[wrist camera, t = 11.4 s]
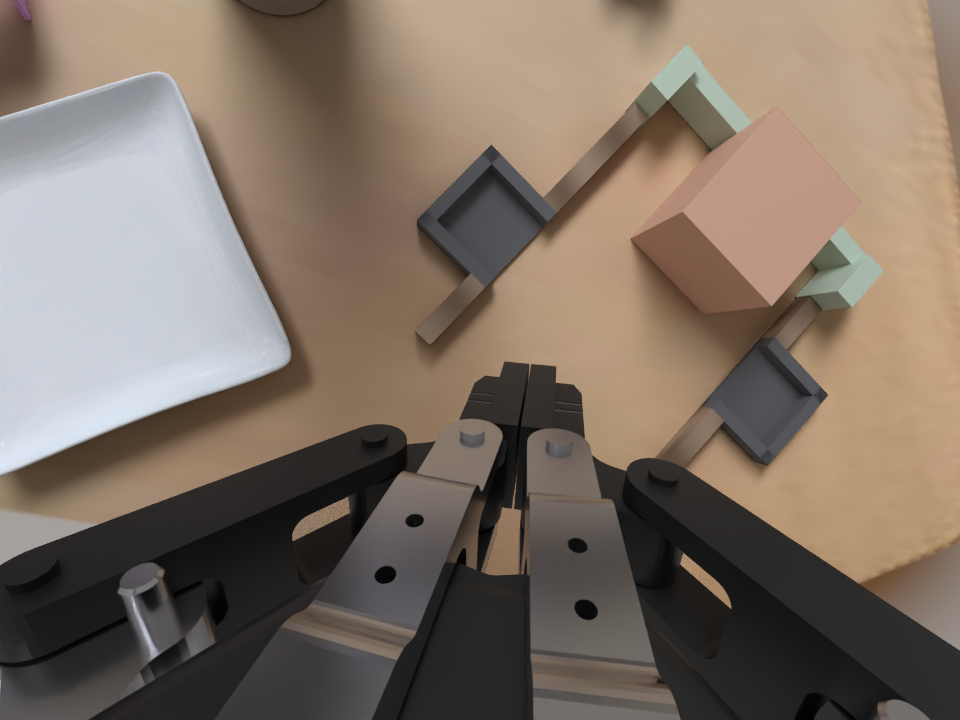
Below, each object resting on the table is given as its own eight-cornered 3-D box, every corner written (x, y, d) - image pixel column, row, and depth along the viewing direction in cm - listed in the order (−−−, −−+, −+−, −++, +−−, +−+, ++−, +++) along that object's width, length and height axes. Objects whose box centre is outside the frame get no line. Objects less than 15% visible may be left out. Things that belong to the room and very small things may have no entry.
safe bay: (808, 311, 39) (852, 307, 35) (626, 110, 36) (651, 81, 33) (842, 272, 39) (889, 264, 36) (664, 70, 37) (693, 37, 33)
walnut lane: (618, 524, 37) (627, 532, 36) (415, 331, 35) (415, 330, 33) (830, 283, 39) (846, 281, 38) (653, 84, 37) (663, 73, 35)
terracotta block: (702, 314, 38) (771, 306, 31) (629, 238, 37) (682, 211, 30) (777, 229, 39) (862, 201, 31) (707, 153, 38) (777, 105, 30)
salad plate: (192, 89, 33) (165, 59, 29) (308, 361, 34) (296, 362, 31) (-123, 187, 30) (-192, 166, 27) (18, 475, 32) (-30, 490, 28)
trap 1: (754, 461, 39) (767, 465, 37) (700, 406, 38) (712, 408, 37) (812, 393, 39) (828, 395, 38) (761, 337, 39) (774, 337, 37)
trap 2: (482, 290, 35) (485, 287, 34) (417, 225, 35) (416, 220, 33) (551, 218, 36) (556, 212, 34) (488, 153, 35) (491, 144, 34)
